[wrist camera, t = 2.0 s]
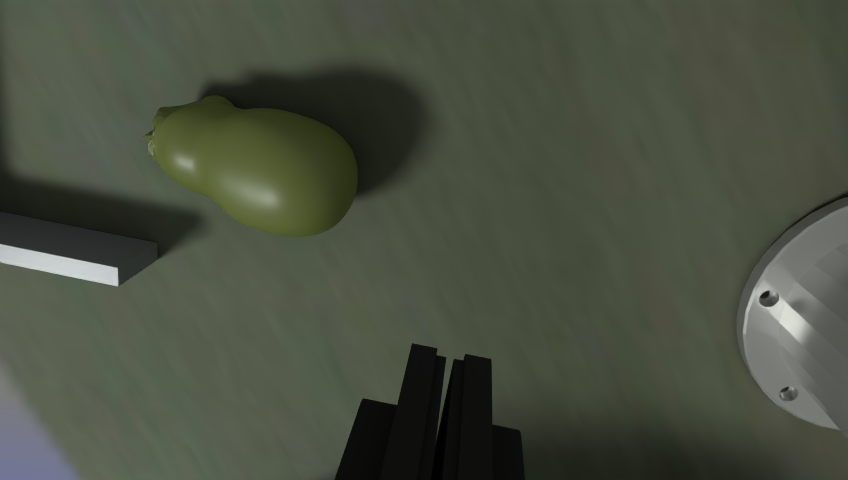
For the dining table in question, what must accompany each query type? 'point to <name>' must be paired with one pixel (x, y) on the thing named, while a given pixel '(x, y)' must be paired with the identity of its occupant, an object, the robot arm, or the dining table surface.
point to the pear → (258, 164)
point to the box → (73, 250)
